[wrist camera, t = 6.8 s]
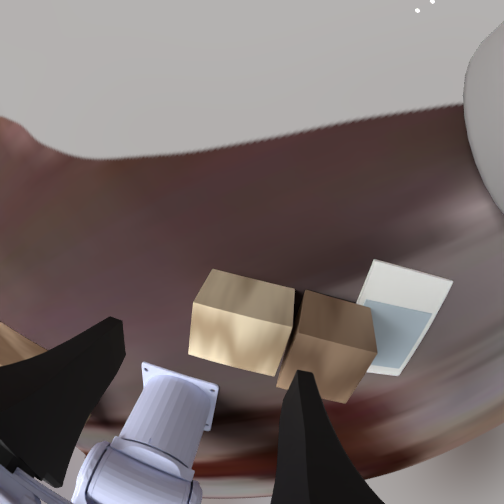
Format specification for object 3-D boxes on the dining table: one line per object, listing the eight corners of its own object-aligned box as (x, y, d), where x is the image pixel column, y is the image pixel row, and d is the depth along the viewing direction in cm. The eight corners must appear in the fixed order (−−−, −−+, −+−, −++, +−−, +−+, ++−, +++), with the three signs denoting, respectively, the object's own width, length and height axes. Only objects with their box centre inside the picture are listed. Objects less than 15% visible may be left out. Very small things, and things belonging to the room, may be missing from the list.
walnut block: (345, 403, 18) (276, 386, 19) (345, 356, 22) (287, 341, 23) (377, 353, 16) (298, 332, 17) (370, 307, 20) (305, 289, 21)
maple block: (274, 376, 19) (188, 354, 19) (279, 335, 23) (205, 316, 23) (292, 327, 17) (193, 302, 18) (294, 288, 21) (212, 267, 22)
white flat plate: (397, 373, 23) (398, 376, 23) (327, 363, 24) (327, 366, 23) (451, 280, 19) (453, 282, 19) (373, 258, 19) (375, 261, 19)
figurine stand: (91, 414, 35) (73, 443, 30) (19, 372, 36) (0, 394, 31) (73, 364, 30) (48, 396, 25) (-3, 319, 31) (-27, 342, 25)
